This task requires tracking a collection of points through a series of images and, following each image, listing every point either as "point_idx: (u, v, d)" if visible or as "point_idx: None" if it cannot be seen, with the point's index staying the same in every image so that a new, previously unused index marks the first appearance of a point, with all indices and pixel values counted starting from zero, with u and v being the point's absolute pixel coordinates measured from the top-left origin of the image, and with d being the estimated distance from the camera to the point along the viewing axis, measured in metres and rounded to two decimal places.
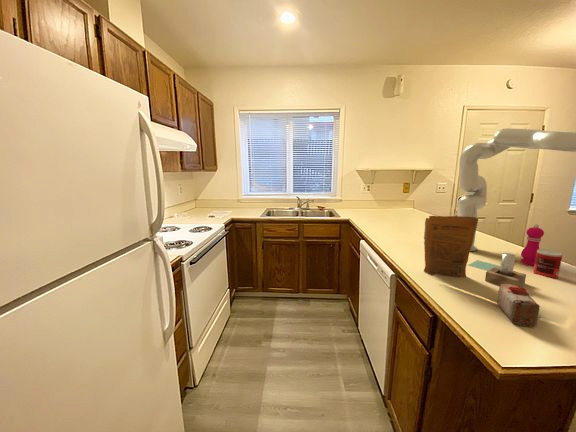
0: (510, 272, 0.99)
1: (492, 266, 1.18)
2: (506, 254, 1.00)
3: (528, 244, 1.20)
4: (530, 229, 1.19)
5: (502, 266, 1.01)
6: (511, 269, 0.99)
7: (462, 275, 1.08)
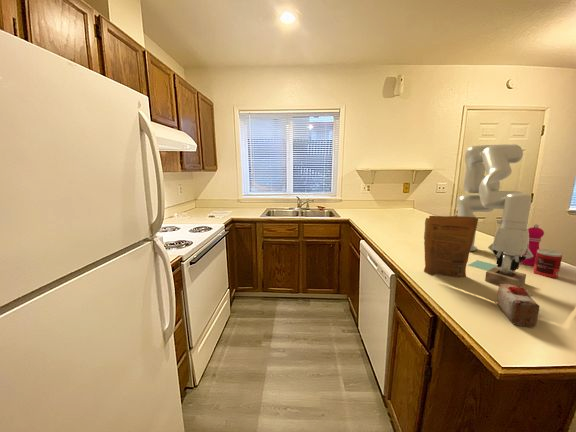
0: (510, 272, 0.99)
1: (492, 266, 1.18)
2: (506, 254, 1.00)
3: None
4: (530, 229, 1.19)
5: (502, 266, 1.01)
6: (511, 269, 0.99)
7: (462, 275, 1.08)
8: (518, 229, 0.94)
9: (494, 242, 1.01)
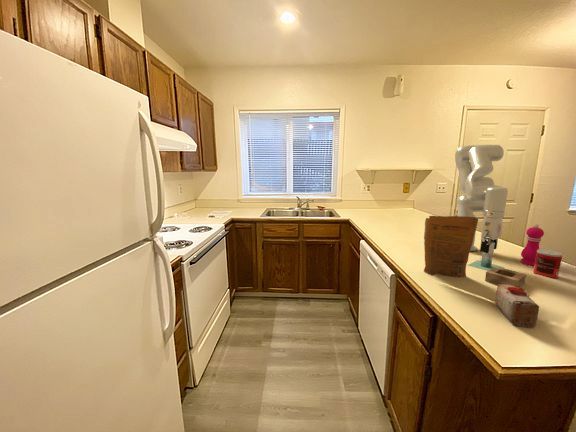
0: None
1: (492, 266, 1.18)
2: None
3: (528, 244, 1.20)
4: (530, 229, 1.19)
5: (491, 253, 1.15)
6: None
7: (462, 275, 1.08)
8: None
9: (493, 233, 1.10)
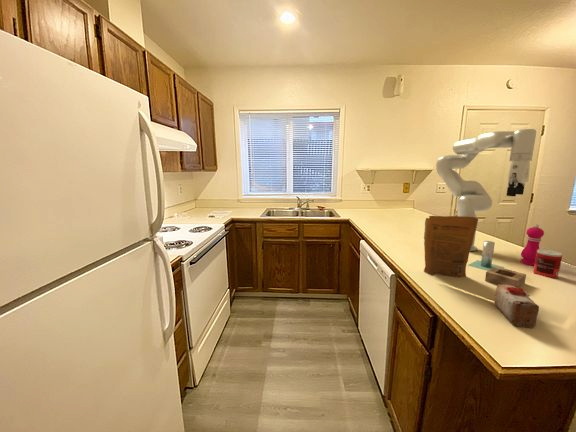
0: None
1: (492, 266, 1.18)
2: (489, 242, 1.15)
3: (528, 244, 1.20)
4: (530, 229, 1.19)
5: (491, 253, 1.15)
6: None
7: (462, 275, 1.08)
8: None
9: (521, 175, 1.10)
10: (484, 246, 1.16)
